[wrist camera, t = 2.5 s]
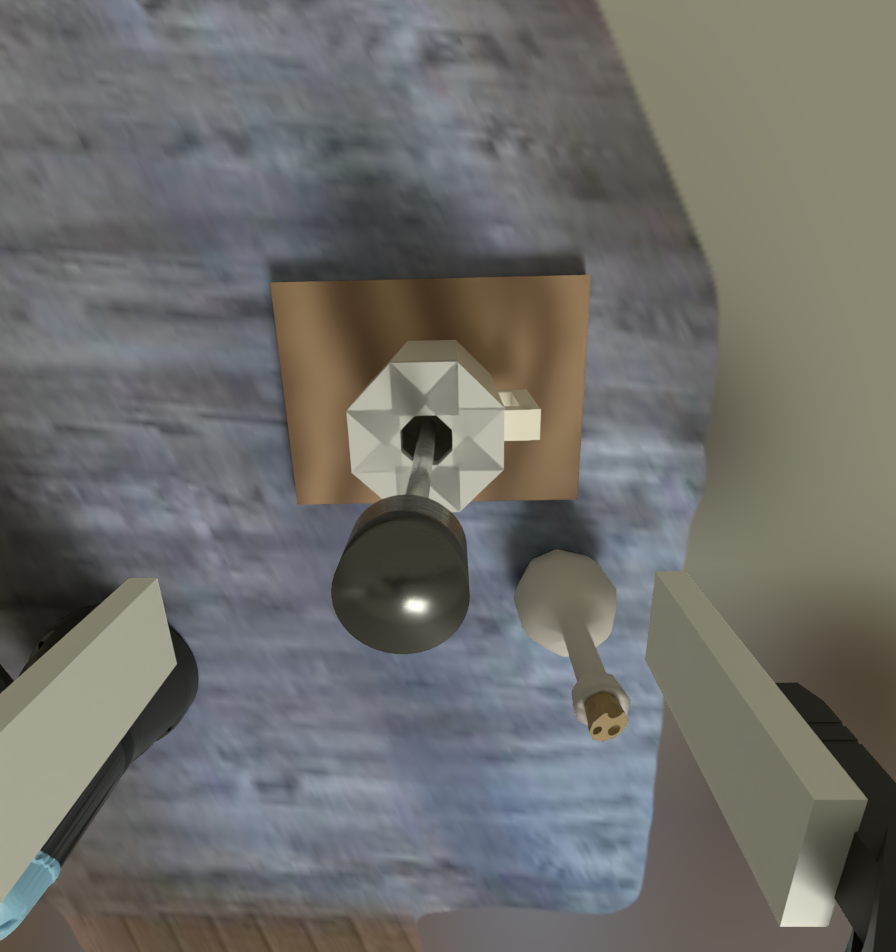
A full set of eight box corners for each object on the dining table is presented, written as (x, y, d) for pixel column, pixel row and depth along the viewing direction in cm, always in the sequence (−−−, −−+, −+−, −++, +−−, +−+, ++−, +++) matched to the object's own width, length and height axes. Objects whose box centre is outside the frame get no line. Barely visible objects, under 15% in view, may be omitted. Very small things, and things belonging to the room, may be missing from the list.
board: (302, 498, 48) (297, 504, 47) (276, 282, 42) (270, 282, 41) (573, 493, 48) (577, 499, 46) (586, 275, 42) (590, 274, 40)
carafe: (380, 453, 45) (354, 514, 33) (373, 341, 42) (341, 363, 30) (521, 450, 45) (546, 510, 33) (523, 337, 42) (552, 359, 30)
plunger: (399, 457, 35) (337, 654, 16) (395, 396, 34) (324, 534, 15) (460, 456, 35) (470, 652, 16) (459, 395, 34) (468, 532, 15)
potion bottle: (524, 531, 49) (562, 661, 32) (618, 552, 50) (704, 690, 33) (499, 612, 52) (522, 771, 35) (588, 630, 53) (653, 796, 36)
